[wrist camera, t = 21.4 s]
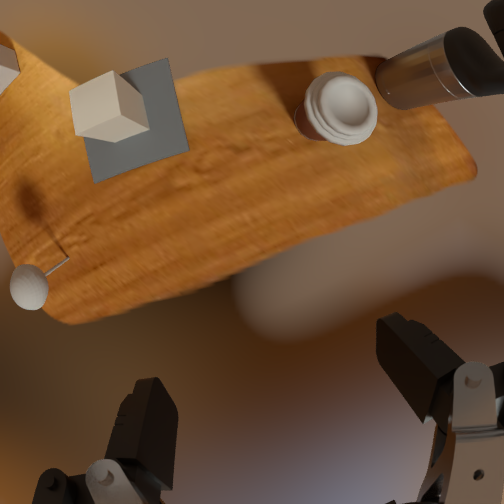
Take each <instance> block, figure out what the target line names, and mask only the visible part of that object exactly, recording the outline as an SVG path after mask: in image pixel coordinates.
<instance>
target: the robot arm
mask: <svg viewBox="0 0 504 504" xmlns="http://www.w3.org/2000/svg"><path fill="white" fill-rule="evenodd" d="M483 13H484V17H485V19H486V21H487V23H488V26H489V28H490V30H491V32H492V34H493V35H494V37H495V39H496V42H497V44H498V46H499V48H500V50H501V52H502V55H503V57H504V0H492V1H490V2H489V3H488V4H487V5H486V6H485V7H484V10H483ZM376 84H377V87H378V90H379V91H380V93H381V95H382V96H383V98H384V99H385V100H386V101H387V102H388V103H389V104H390V105H392V106H393V107H395V108H397V109H401V110H407V109H412V108H417V107H422V106H427V105H432V104H437V103H443V102H448V101H455V100H461V99H467V98H474V97H482V96H489V95H496V94H504V61H503V60H501V59H500V58H499V56H497V54H496V53H495V52H494V51H493V49H491V47H490V46H489V45H488V44H487V42H486V41H485V40H484V39H483V38H482V37H481V36H480V35H479V34H478V33H476V32H475V31H473V30H471V29H469V28H466V27H458V28H455V29H452V30H450V31H447V32H445V33H442V34H440V35H438V36H436V37H434V38H431V39H429V40H427V41H425V42H423V43H421V44H419V45H416V46H414V47H412V48H410V49H408V50H406V51H404V52H402V53H400V54H398V55H396V56H394V57H392V58H390V59H388V60H386V61H385V62H383V63H381V64H380V65H379V66H378V68H377V70H376ZM376 355H377V359H378V362H379V364H380V365H381V367H382V368H383V370H384V371H385V372H386V374H387V375H388V376H389V377H390V379H391V380H392V382H393V383H394V384H395V386H396V387H397V389H398V390H399V391H400V393H401V394H402V395H403V397H404V398H405V400H406V401H407V402H408V404H409V405H410V407H411V408H412V409H413V411H414V412H415V413H416V415H417V416H418V417H419V419H420V421H421V422H422V423H423V424H424V423H426V422H428V421H430V420H431V419H434V420H435V422H436V426H435V431H434V438H433V445H432V450H431V456H430V461H429V465H428V469H427V473H426V476H425V478H424V481H423V483H422V485H421V488H420V491H419V494H418V497H417V501H416V502H410V503H405V504H501V500H502V493H503V484H504V362H501V363H499V364H496V365H494V366H490V367H488V366H486V365H485V364H483V363H480V362H468V363H466V362H464V361H463V360H462V359H461V358H460V357H459V356H458V355H457V354H456V353H455V352H454V351H453V350H452V349H450V348H449V347H448V346H447V345H446V344H445V343H444V342H443V341H442V340H439V338H438V337H437V336H436V335H435V334H433V333H432V331H431V330H429V329H428V328H427V327H426V326H425V325H424V324H422V323H419V322H417V321H414V320H409V321H407V320H406V319H405V318H403V317H402V316H401V315H400V314H399V313H397V312H394V313H392V314H389V315H387V316H384V317H382V318H379V319H378V320H377V323H376ZM117 416H118V417H117V418H116V420H115V426H114V427H113V430H112V433H111V437H110V440H109V444H108V447H107V451H106V455H105V458H104V459H102V460H98V461H96V462H95V463H93V464H92V465H91V466H90V467H89V468H88V470H87V472H86V474H81V475H76V476H69V477H68V476H67V475H66V474H64V473H63V472H62V471H61V470H59V469H57V468H51V469H48V470H46V471H45V472H43V474H42V475H41V476H40V478H39V480H38V484H37V487H36V490H35V494H34V498H33V502H32V504H165V502H164V501H163V500H162V499H161V498H160V494H161V490H172V488H173V487H172V486H173V473H174V460H175V449H176V448H175V447H176V438H177V428H178V411H177V408H176V405H175V403H174V402H173V400H172V398H171V397H170V395H169V394H168V392H167V390H166V389H165V387H164V385H163V384H162V382H161V381H160V379H159V378H158V377H153V378H147V379H139V380H137V381H136V384H135V387H134V390H133V394H128V395H127V397H126V398H125V399H124V401H123V402H122V403H121V405H120V408H119V411H118V414H117ZM386 504H396V502H395V500H393V501H390V502H388V503H386Z"/></svg>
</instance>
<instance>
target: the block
mask: <svg viewBox="0 0 504 504" xmlns="http://www.w3.org/2000/svg"><path fill="white" fill-rule="evenodd" d="M69 94H70V102H71V109H72V116H73V122H74V128H75V134H76V135H78V136H83V137H89V138H94V139H99V140H104V141H109V142H114V143H115V142H118V141H120V140H123V139H125V138H128V137H131V136H133V135H136V134H139V133H141V132H144V131H147V130H150V128H149V124H148V120H147V115H146V110H145V106H144V101H143V96H142V95H141V94H140V93H139V92H138V91H137V90H136V89H135V88H133V87H132V86H131V85H130V84H129V83H128V82H127V81H125V80H124V79H123V78H122V77H121V76H120V75H119V74H117V73H116V72H115V71H114V70H112V71H110V72H107V73H105V74H102V75H100V76H98V77H96V78H94V79H92V80H90V81H88V82H86V83H84V84H82V85H80V86H78V87H76V88H74V89H72V90H70V91H69Z"/></svg>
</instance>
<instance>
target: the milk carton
mask: <svg viewBox="0 0 504 504" xmlns="http://www.w3.org/2000/svg"><path fill="white" fill-rule="evenodd" d="M19 74H20V70H19V66H18V62H17V58H16V54H15V51H14V50H12V49H10V48H7V47H5V46H3V45H1V44H0V95H1V93H2V92H3V91H4V90H5V89H6V88H7V87H8V85H9V84H10V83H11V82H12V81H13V80H14V79H15V78H16V77H17V76H18V75H19Z"/></svg>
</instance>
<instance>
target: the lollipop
mask: <svg viewBox="0 0 504 504" xmlns="http://www.w3.org/2000/svg"><path fill="white" fill-rule="evenodd" d="M67 260H69V257H67V258H65V259H64V260H63V261H61V262H60V263H58V264H57V265H55V266H54V267H53V268H51V269H50V270H48V271H47V272H46V273H43V272H42V271H41V270H40V269H39V268H38V267H36V266H34V265H30V264H26V265H25V264H23V265H20V266H18V267H17V268H16V269H15V270H14V272H13V274H12V277H11V281H10V291H11V295H12V297H13V299H14V301H15V302H16V303H17V304H18V305H19V306H20V307H22V308H24V309H27V310H36V309H39V308H40V307H42V306H43V304H44V302H45V300H46V298H47V295H48V282H47V278H46V276H47V275H48V274H50V273H51V272H52V271H54V270H55V269H56V268H58V267H59V266H60V265H62V264H63V263H65V262H66V261H67Z"/></svg>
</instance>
